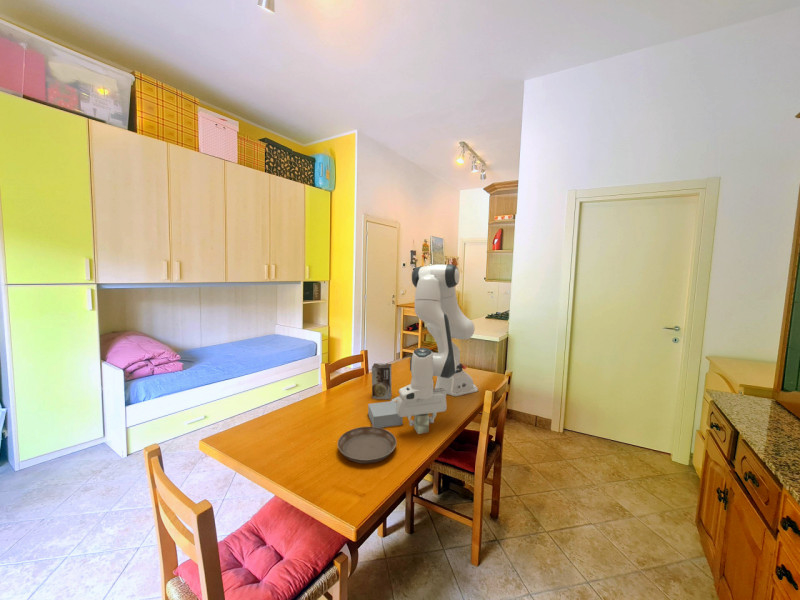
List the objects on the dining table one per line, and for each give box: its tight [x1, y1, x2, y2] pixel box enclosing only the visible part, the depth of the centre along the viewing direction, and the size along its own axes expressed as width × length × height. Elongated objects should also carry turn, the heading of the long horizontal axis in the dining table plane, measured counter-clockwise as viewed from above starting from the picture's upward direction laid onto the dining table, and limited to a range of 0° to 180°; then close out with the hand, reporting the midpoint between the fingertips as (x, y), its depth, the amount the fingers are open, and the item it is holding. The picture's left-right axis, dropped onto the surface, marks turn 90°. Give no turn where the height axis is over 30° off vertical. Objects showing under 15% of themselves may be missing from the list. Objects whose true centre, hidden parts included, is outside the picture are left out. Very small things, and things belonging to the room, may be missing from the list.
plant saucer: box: [337, 426, 397, 464], centre depth 111 cm, size 21×21×3 cm
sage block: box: [413, 414, 430, 435], centre depth 124 cm, size 4×4×7 cm
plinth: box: [367, 400, 404, 429], centre depth 132 cm, size 12×12×5 cm
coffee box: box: [371, 363, 393, 400], centre depth 154 cm, size 9×6×16 cm
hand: (421, 423), depth 124 cm, fingers open, 7 cm apart
